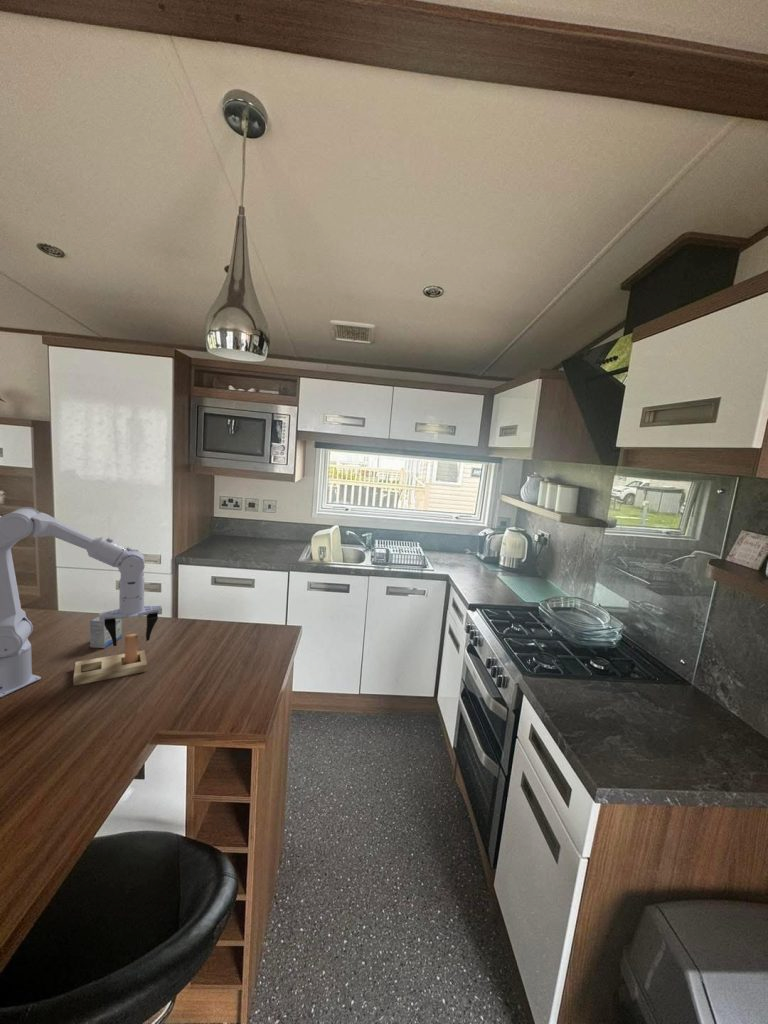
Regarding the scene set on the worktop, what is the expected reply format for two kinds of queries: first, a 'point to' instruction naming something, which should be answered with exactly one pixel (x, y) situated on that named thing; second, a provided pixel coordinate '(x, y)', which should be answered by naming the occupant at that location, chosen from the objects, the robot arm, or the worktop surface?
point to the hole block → (107, 668)
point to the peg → (131, 648)
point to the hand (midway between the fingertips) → (131, 641)
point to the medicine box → (103, 633)
